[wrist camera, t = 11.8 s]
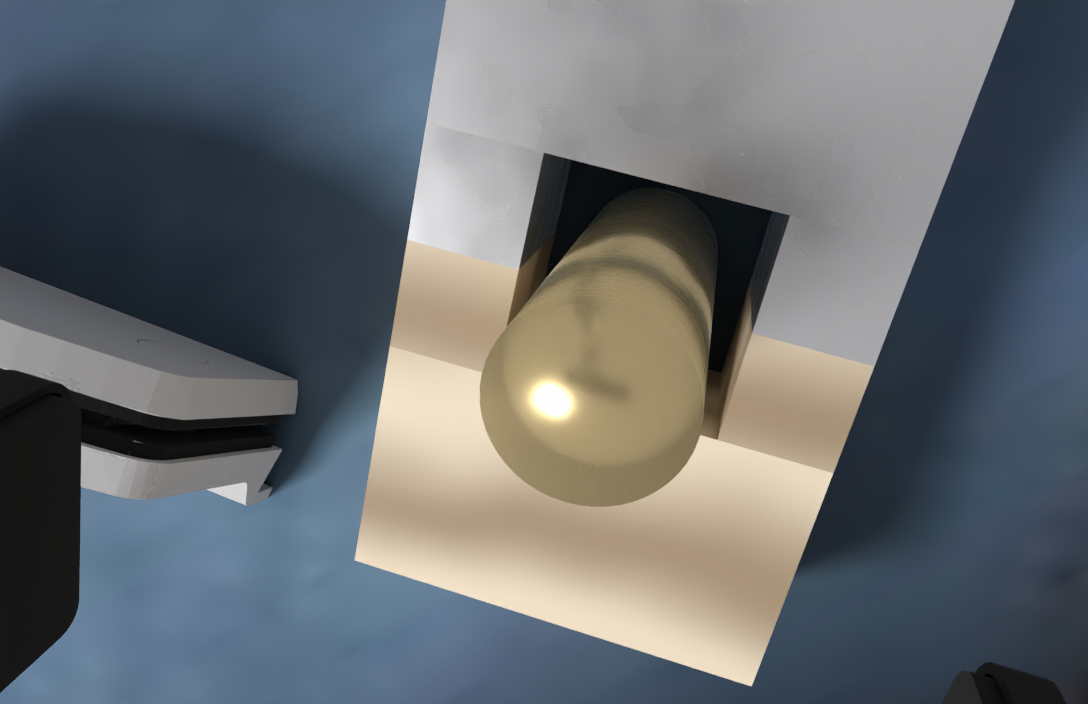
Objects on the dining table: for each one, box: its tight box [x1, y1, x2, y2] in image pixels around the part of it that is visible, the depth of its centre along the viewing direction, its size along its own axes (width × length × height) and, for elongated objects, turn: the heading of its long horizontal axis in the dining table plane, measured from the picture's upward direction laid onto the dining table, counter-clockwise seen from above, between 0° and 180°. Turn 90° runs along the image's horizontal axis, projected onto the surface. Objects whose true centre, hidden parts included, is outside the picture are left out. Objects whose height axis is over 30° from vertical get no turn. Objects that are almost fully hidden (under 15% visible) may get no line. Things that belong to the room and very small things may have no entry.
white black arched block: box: [0, 266, 298, 506], centre depth 28 cm, size 17×5×10 cm, turn 73°
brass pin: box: [480, 187, 718, 507], centre depth 21 cm, size 4×4×12 cm
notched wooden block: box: [355, 231, 874, 686], centre depth 26 cm, size 10×12×5 cm
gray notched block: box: [407, 0, 1015, 366], centre depth 23 cm, size 10×12×5 cm
